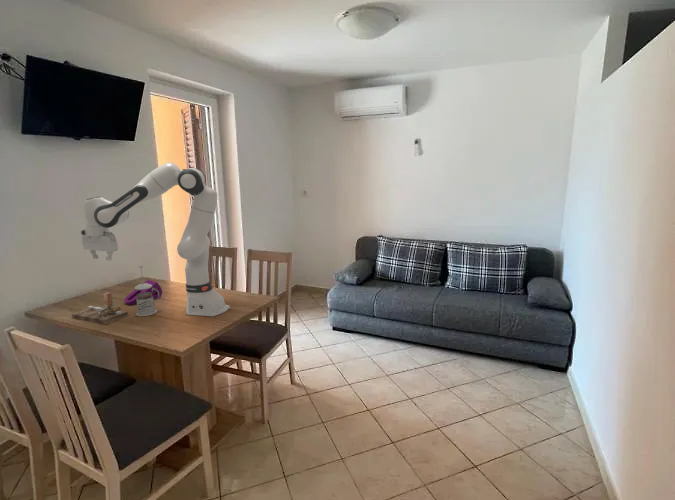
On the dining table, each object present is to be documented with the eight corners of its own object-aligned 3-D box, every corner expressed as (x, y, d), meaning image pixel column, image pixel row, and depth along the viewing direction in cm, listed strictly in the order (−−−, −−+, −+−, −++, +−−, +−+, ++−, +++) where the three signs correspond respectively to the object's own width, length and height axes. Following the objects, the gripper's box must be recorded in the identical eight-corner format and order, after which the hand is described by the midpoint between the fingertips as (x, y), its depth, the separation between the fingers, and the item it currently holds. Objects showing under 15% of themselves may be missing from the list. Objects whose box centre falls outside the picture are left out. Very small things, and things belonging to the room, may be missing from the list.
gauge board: (128, 315, 190) (126, 304, 189) (106, 324, 180) (104, 313, 178) (95, 309, 199) (93, 299, 198) (72, 317, 188) (70, 307, 187)
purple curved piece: (138, 315, 207) (164, 293, 219) (130, 303, 203) (157, 282, 214) (129, 311, 213) (155, 290, 224) (121, 300, 208) (147, 279, 220)
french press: (137, 310, 197) (131, 263, 192) (161, 307, 201) (156, 261, 196) (134, 317, 188) (128, 268, 183) (160, 313, 192) (154, 265, 187)
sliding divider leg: (115, 310, 191) (112, 292, 189) (100, 315, 184) (98, 297, 182) (111, 309, 192) (108, 291, 190) (96, 315, 185) (93, 296, 183)
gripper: (119, 231, 181) (123, 259, 183) (90, 229, 188) (94, 256, 191) (107, 233, 175) (111, 262, 178) (77, 231, 182) (82, 259, 185)
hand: (102, 259), depth 184 cm, fingers open, 8 cm apart
